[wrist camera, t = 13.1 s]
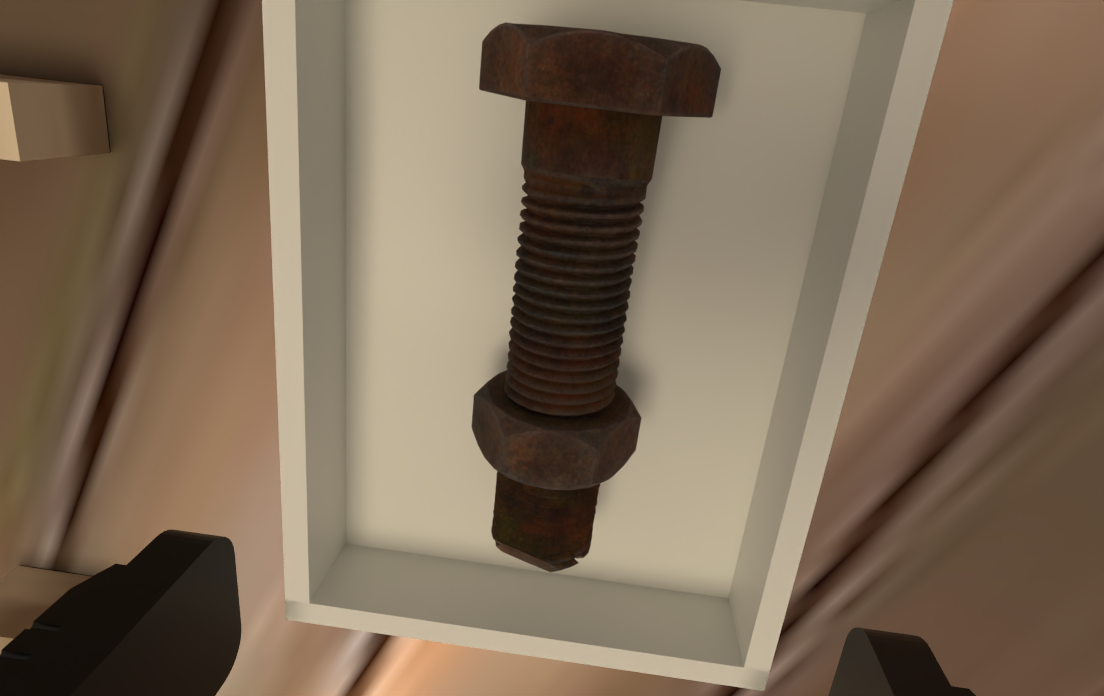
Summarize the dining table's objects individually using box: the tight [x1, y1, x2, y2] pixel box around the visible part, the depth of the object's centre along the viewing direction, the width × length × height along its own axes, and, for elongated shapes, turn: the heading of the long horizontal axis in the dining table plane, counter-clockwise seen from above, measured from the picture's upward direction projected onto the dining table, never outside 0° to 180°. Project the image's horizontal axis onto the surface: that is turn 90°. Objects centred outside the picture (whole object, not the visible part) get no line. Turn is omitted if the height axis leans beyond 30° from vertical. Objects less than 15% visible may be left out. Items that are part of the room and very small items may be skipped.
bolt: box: [472, 22, 721, 572], centre depth 19 cm, size 6×5×15 cm
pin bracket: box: [0, 74, 110, 654], centre depth 23 cm, size 6×21×4 cm, turn 174°
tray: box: [262, 0, 954, 691], centre depth 20 cm, size 16×21×4 cm
